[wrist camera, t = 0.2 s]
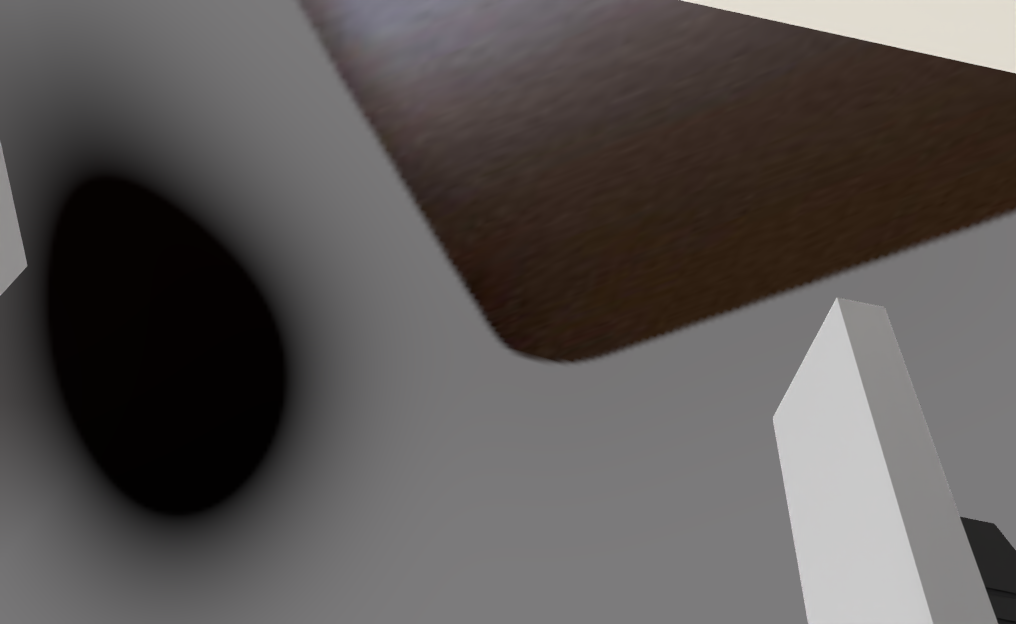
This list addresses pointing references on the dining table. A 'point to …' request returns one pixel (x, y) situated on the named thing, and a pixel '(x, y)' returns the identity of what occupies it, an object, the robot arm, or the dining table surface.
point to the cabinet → (903, 24)
